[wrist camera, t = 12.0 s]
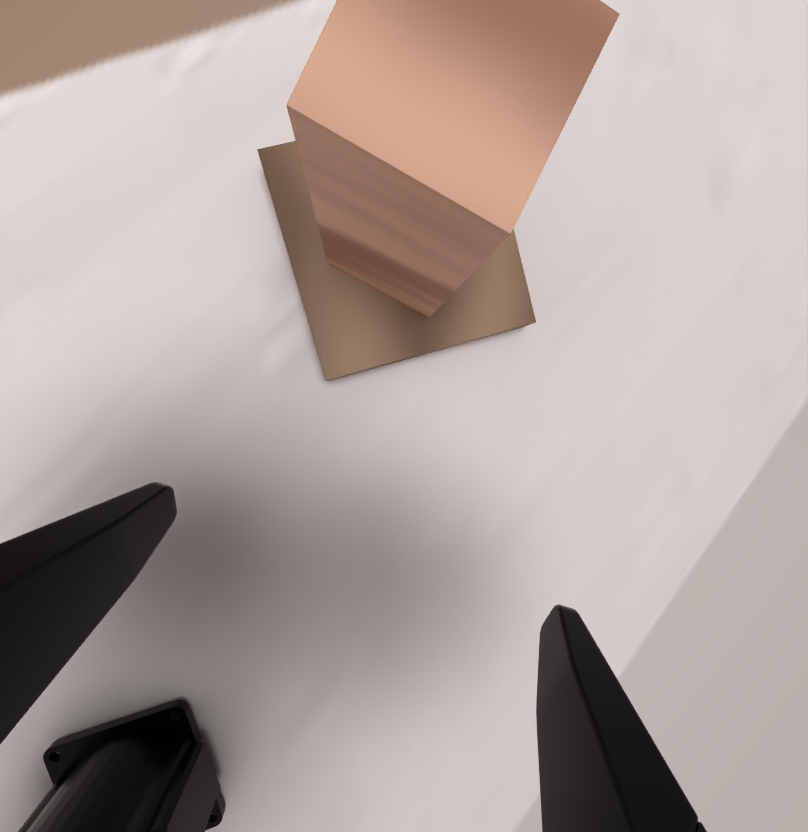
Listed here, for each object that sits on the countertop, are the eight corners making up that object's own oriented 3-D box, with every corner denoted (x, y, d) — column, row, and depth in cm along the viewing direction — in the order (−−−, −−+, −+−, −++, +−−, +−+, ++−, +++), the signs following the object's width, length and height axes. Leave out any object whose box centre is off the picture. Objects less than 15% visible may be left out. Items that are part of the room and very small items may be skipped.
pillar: (429, 317, 18) (510, 234, 8) (327, 263, 18) (286, 105, 8) (478, 217, 18) (619, 13, 8) (378, 159, 18) (402, -135, 8)
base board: (328, 380, 20) (325, 380, 18) (265, 168, 19) (257, 149, 17) (523, 327, 20) (535, 322, 19) (472, 121, 19) (481, 99, 18)
